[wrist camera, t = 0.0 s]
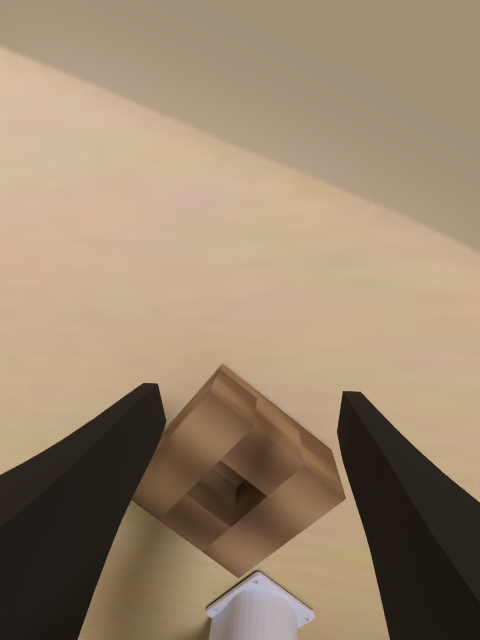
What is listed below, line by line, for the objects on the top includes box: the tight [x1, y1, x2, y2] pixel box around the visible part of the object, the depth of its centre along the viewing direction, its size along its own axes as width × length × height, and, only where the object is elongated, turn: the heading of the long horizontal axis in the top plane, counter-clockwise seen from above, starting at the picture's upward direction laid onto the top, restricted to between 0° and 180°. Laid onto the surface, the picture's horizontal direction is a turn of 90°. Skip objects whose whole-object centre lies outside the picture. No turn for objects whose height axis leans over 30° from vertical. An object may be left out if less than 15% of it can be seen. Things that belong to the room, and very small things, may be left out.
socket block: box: [131, 364, 346, 578], centre depth 21 cm, size 12×12×4 cm
